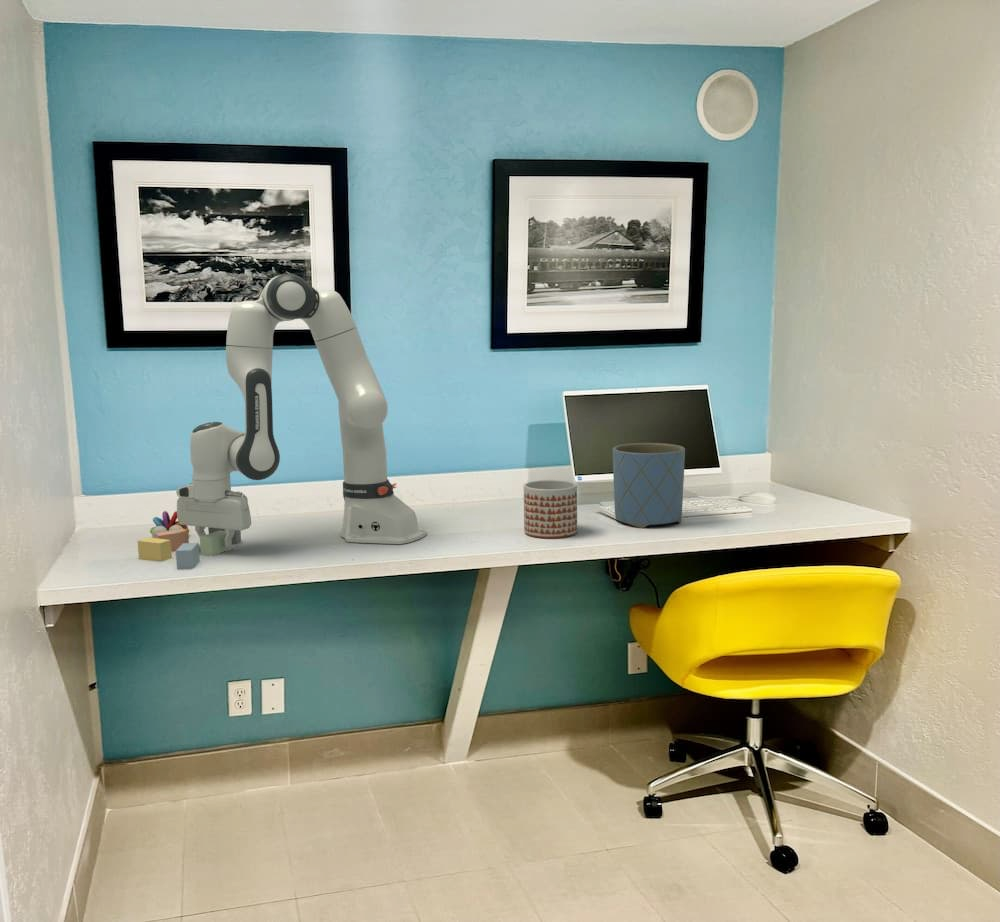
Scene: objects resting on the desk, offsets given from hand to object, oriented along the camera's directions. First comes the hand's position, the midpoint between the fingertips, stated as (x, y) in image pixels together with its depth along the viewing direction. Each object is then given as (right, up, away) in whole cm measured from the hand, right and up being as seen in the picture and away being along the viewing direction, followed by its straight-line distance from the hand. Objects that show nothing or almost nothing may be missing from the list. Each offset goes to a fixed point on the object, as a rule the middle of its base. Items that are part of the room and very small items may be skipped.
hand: (216, 544), depth 234 cm
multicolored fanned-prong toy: (-16, 0, +15) cm, 23 cm away
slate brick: (-3, -4, -11) cm, 12 cm away
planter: (+110, +4, +24) cm, 112 cm away
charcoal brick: (0, 0, +9) cm, 9 cm away
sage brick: (0, -2, 0) cm, 2 cm away
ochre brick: (-13, -3, -5) cm, 14 cm away
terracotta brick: (-12, -2, +3) cm, 12 cm away
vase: (+83, +2, +13) cm, 84 cm away
